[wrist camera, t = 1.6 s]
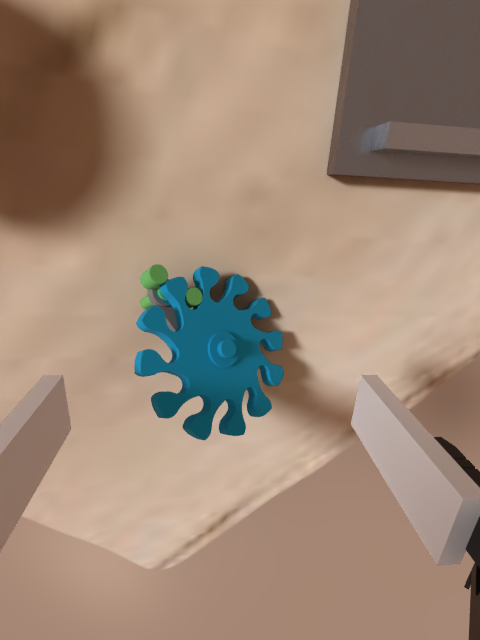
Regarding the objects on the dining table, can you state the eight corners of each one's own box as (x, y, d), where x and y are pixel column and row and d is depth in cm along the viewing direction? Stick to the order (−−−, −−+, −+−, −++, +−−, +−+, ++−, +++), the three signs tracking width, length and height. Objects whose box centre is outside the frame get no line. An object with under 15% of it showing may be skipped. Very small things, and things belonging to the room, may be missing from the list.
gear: (312, 360, 23) (223, 484, 17) (257, 367, 28) (172, 466, 22) (223, 220, 20) (83, 309, 14) (179, 253, 25) (58, 330, 19)
